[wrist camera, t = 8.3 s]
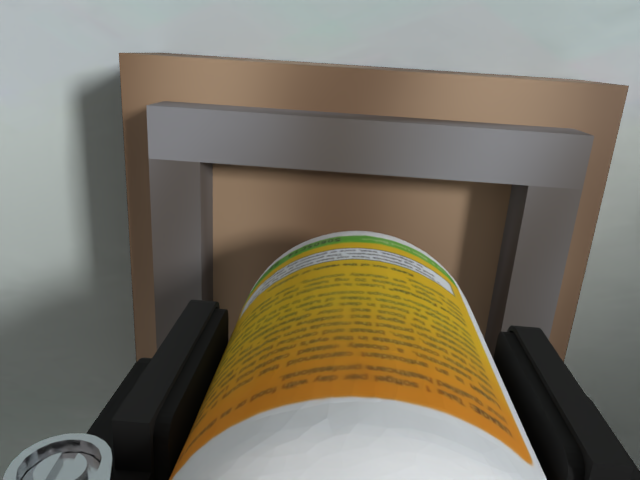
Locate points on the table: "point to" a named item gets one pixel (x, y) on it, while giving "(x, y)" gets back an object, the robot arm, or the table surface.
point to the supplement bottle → (357, 376)
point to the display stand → (361, 179)
